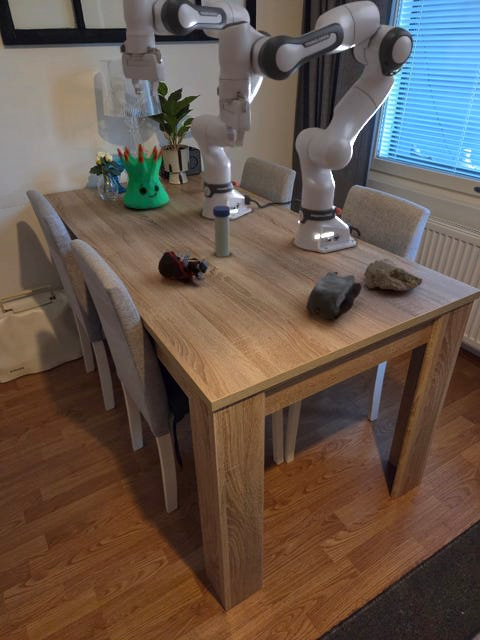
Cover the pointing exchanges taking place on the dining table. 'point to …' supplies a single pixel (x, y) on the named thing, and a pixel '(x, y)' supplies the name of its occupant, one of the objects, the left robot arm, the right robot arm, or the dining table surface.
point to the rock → (333, 295)
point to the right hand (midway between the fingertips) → (234, 143)
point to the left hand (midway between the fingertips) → (146, 95)
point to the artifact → (389, 276)
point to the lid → (221, 211)
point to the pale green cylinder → (222, 236)
